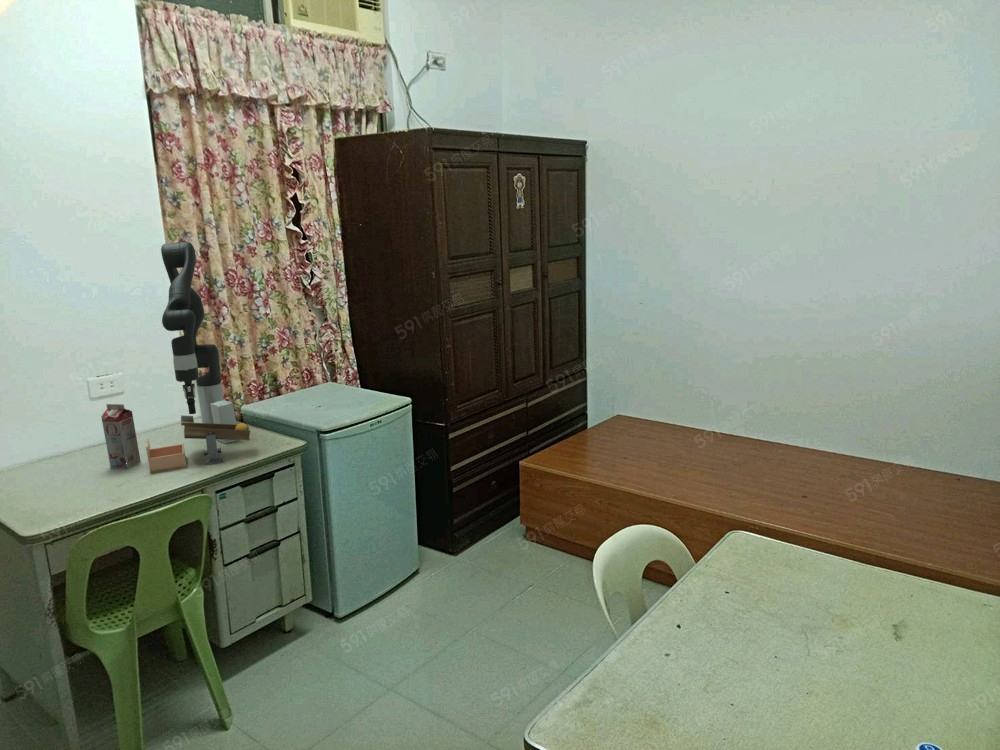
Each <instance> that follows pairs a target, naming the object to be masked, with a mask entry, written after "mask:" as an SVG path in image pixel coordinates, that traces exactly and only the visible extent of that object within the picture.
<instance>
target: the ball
mask: <svg viewBox="0 0 1000 750" xmlns="http://www.w3.org/2000/svg"><path fill="white" fill-rule="evenodd" d="M246 425H247V424H245V423H242V422H240V423H237V426H236V427H235V430H247V426H246Z"/></svg>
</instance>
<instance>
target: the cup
mask: <svg viewBox="0 0 1000 750" xmlns="http://www.w3.org/2000/svg"><path fill="white" fill-rule="evenodd" d="M145 445H146V446H145V448H146V449H145V450H146V455H147V462H148V469H149V473H150V474H154V473H159V472H166V471H171V470H177V469H183V468H184V469H185V468H187V457H186V451H185V444H184V443H180V444H174V445H169V446H162V447H156V448H155V447H154V448H151V444H150V439H149V438H146V444H145Z"/></svg>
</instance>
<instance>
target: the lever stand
mask: <svg viewBox="0 0 1000 750" xmlns="http://www.w3.org/2000/svg"><path fill="white" fill-rule="evenodd" d="M205 442H206V450H202V451H203V452H202V453H203V456H208V459H205V460H204V465H205V466H208V465H214V464H218V463H219V464H220V463H224V462H225V461H224V457H223V456H222V457H219V454H220V453H222V448H221V447H219V448H218V445H217V439H216V436H215V433H214V434H208V435H206V439H205Z"/></svg>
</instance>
